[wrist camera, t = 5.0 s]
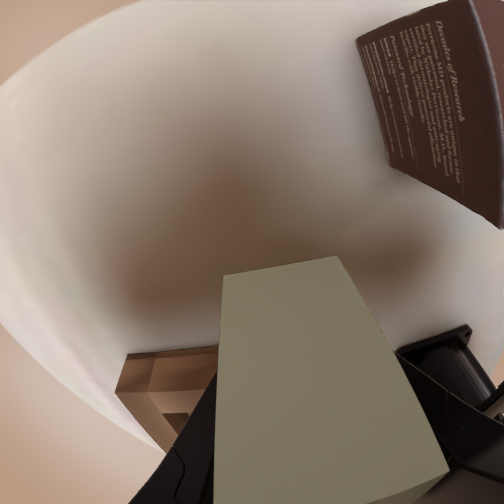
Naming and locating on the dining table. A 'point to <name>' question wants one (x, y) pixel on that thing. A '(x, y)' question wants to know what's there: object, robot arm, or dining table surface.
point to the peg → (314, 396)
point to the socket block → (165, 389)
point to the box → (444, 99)
